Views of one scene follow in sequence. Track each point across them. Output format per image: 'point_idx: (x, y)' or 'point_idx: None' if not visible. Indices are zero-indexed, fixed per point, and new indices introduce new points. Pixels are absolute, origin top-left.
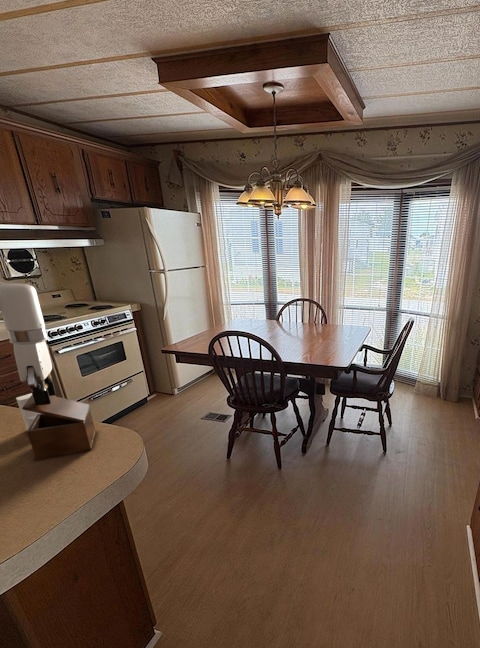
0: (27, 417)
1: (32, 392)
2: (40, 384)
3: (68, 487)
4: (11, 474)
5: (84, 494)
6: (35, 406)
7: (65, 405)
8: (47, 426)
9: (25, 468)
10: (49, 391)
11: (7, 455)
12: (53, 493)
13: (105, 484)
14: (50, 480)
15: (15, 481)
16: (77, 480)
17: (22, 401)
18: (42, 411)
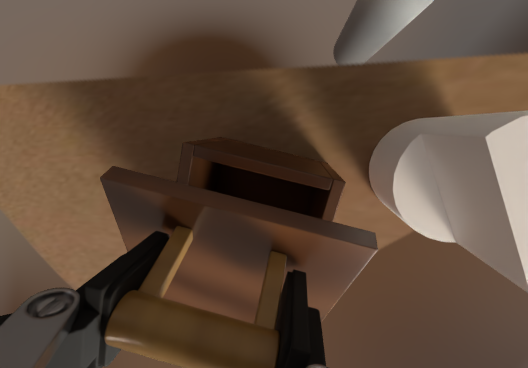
0: (423, 135)
1: (89, 283)
2: (282, 350)
3: (61, 190)
4: (176, 83)
5: (24, 212)
6: (147, 225)
7: (240, 309)
8: (319, 188)
9: (189, 113)
10: (275, 329)
11: (294, 67)
12: (52, 163)
13: (41, 249)
14: (104, 161)
15: (137, 93)
16: (79, 208)
17: (477, 140)
18: (123, 238)
